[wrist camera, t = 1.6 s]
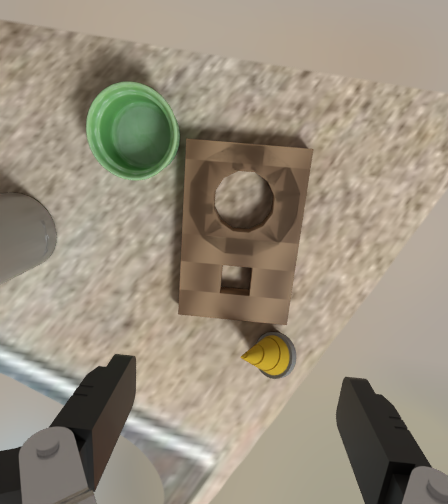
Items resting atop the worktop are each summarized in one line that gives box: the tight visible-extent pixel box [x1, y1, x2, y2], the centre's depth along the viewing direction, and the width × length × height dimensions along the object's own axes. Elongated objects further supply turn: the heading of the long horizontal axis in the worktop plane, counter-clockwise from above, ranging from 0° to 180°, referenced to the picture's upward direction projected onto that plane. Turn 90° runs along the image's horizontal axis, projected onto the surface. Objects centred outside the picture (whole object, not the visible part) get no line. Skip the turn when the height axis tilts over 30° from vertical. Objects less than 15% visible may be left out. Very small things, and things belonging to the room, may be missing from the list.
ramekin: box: [86, 81, 180, 180], centre depth 33 cm, size 9×9×4 cm
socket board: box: [178, 139, 313, 325], centre depth 36 cm, size 13×20×2 cm, turn 175°
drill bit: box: [241, 332, 296, 379], centre depth 38 cm, size 5×5×10 cm
